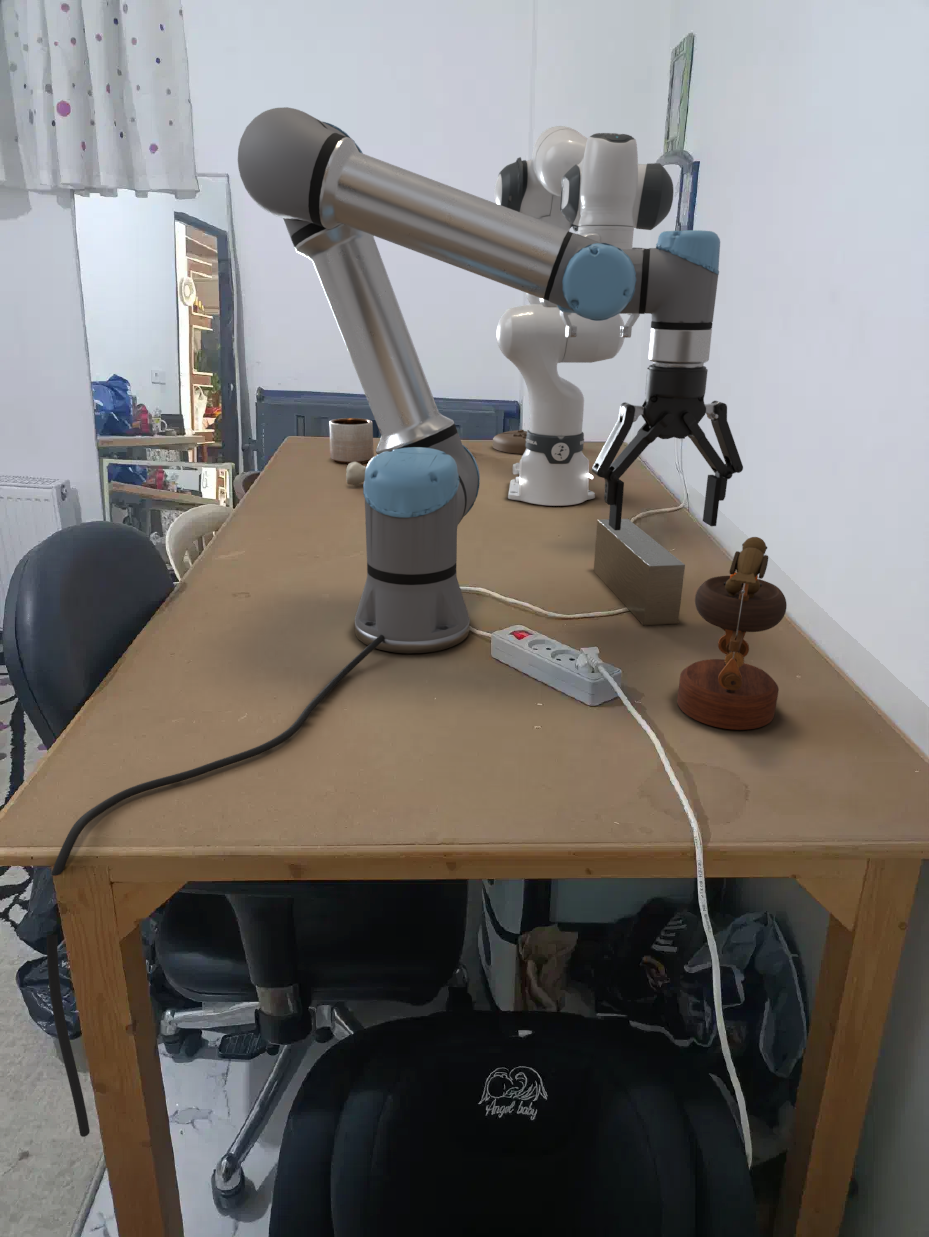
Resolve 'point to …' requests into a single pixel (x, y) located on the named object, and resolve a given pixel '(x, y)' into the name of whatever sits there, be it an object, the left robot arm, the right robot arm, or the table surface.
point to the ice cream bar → (511, 441)
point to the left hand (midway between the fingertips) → (662, 525)
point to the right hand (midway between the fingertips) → (598, 337)
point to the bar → (639, 572)
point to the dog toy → (355, 473)
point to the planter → (351, 440)
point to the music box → (734, 646)
